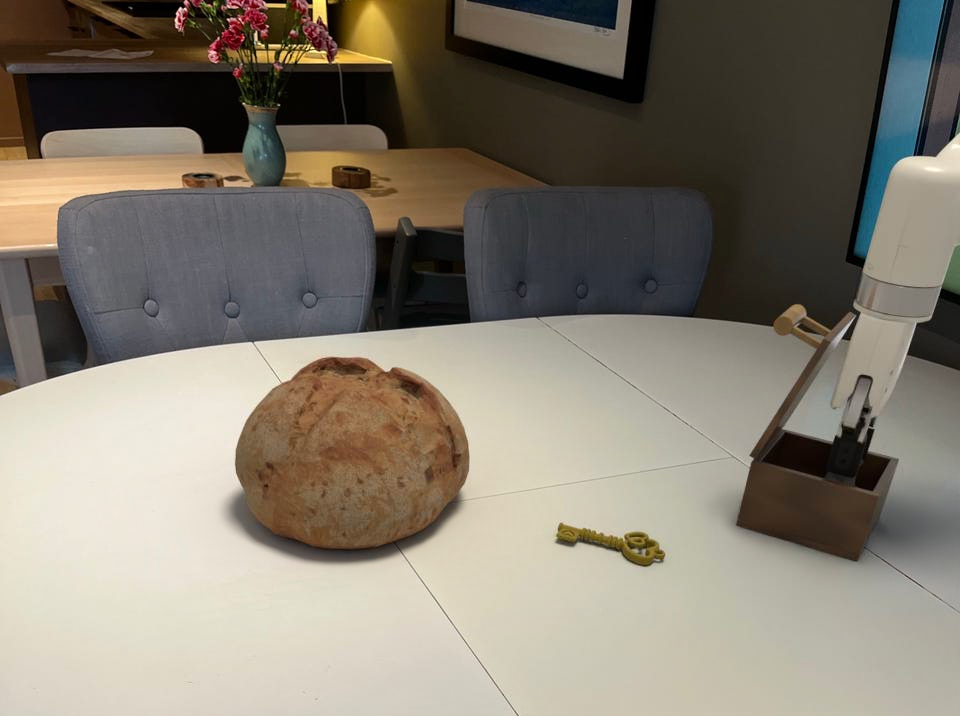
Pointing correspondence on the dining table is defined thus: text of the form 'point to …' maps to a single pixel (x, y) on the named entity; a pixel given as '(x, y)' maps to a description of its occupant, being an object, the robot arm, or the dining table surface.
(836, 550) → the box
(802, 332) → the lid
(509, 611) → the dining table surface
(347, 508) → the bread
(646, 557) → the key
